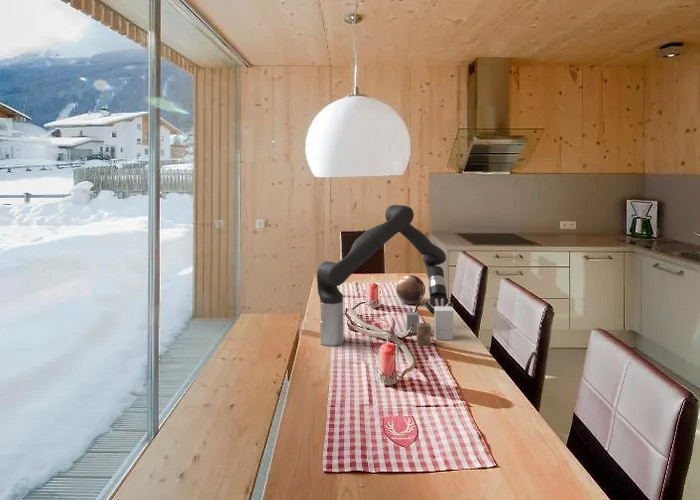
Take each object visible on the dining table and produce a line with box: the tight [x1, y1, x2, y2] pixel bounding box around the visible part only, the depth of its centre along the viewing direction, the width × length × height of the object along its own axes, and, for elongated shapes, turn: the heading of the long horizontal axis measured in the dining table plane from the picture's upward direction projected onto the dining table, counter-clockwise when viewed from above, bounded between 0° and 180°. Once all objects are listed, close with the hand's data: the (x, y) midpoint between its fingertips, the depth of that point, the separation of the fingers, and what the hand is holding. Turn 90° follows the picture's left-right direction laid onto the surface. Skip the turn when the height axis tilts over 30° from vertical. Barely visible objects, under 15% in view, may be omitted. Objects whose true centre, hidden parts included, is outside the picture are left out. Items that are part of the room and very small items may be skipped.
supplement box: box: [433, 305, 454, 341], centre depth 220 cm, size 7×7×13 cm
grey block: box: [406, 311, 420, 334], centre depth 230 cm, size 5×5×8 cm
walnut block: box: [416, 322, 432, 347], centre depth 213 cm, size 5×5×8 cm
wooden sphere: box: [395, 274, 426, 305], centre depth 277 cm, size 15×15×15 cm
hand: (440, 322), depth 228 cm, fingers closed
